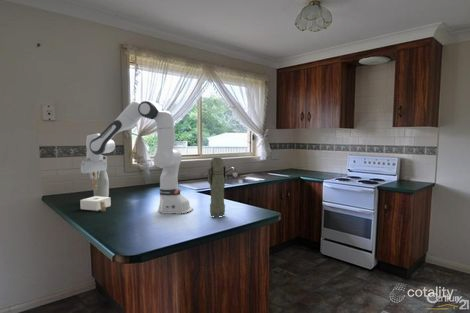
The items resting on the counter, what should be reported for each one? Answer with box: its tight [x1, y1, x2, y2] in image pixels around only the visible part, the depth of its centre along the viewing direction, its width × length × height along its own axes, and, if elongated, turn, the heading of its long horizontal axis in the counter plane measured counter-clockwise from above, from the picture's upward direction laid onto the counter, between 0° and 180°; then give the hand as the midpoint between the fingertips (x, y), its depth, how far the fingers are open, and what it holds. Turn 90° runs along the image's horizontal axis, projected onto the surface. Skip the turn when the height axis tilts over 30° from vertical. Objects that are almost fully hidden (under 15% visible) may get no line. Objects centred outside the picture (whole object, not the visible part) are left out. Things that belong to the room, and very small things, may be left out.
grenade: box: [207, 157, 227, 217], centre depth 174 cm, size 9×12×35 cm
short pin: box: [100, 201, 107, 212], centre depth 187 cm, size 3×3×6 cm
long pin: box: [91, 171, 97, 191], centre depth 195 cm, size 3×3×14 cm
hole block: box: [79, 195, 112, 211], centre depth 196 cm, size 13×13×6 cm
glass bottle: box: [93, 169, 110, 197], centre depth 216 cm, size 10×10×28 cm
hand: (94, 178), depth 195 cm, fingers closed on long pin, 3 cm apart
